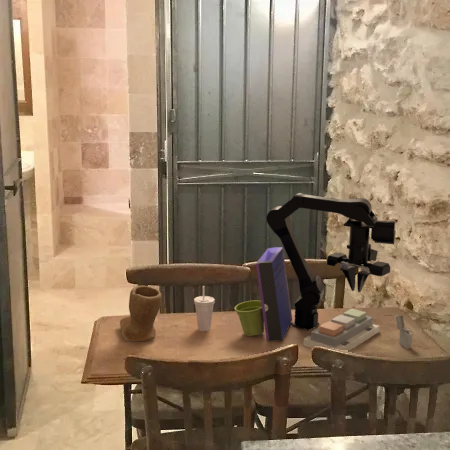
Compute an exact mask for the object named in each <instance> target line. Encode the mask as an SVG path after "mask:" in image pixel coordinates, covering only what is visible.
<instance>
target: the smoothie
mask: <svg viewBox="0 0 450 450" xmlns="http://www.w3.org/2000/svg"><path fill="white" fill-rule="evenodd" d="M193 303H194V306H195V307H194V308H195V314H196V321H197V323H196V324H197V329H198V331H200V332H208V331H210V330H211V325H212V319H213V312H214V304H215V303H216V299H215V298H214V297H212V296H208V295H206V294H205V285H202V295H200V296H196V297H194V299H193Z"/></svg>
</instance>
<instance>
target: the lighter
mask: <svg viewBox="0 0 450 450" xmlns="http://www.w3.org/2000/svg"><path fill="white" fill-rule="evenodd" d="M395 321H396V327H397V330H398V331H399V338H398V339H399V340H398V344H399V345H401V346H402V347H403V348H405V349H406V350H407V349H412V344H413V343H412V341H413V333H412V332H410V329H409V328H408V327H406V326H405V324H406V323H405V319H404V314H398V315H395Z"/></svg>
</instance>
